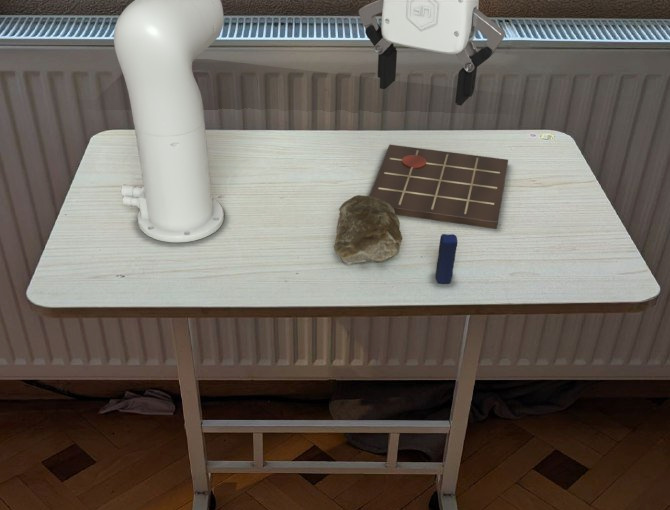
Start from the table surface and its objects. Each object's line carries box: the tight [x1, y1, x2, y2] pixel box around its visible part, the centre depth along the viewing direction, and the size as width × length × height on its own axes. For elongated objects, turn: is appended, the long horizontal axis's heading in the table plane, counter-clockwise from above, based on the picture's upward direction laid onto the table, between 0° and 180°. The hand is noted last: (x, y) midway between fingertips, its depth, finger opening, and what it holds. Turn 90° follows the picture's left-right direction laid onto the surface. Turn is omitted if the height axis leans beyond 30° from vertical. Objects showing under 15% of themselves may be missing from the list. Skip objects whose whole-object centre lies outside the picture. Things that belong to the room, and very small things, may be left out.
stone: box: [333, 194, 403, 265], centre depth 118 cm, size 13×8×8 cm
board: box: [368, 144, 509, 230], centre depth 132 cm, size 20×20×1 cm
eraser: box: [435, 233, 458, 285], centre depth 112 cm, size 2×2×7 cm
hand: (424, 92), depth 99 cm, fingers open, 9 cm apart
